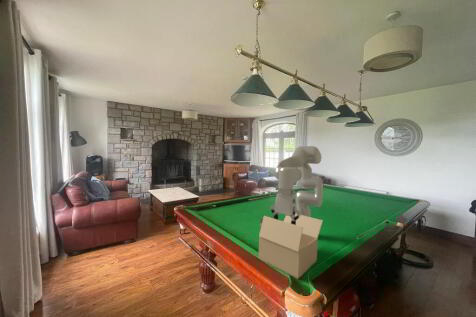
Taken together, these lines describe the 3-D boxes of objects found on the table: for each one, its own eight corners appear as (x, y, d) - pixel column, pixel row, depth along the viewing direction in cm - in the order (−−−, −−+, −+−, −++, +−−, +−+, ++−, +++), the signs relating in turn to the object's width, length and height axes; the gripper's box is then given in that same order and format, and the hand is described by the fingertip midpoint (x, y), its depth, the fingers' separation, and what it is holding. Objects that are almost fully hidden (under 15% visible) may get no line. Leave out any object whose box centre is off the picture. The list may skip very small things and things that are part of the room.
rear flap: (281, 226, 112) (281, 226, 112) (317, 238, 97) (317, 238, 97) (287, 211, 117) (287, 212, 117) (322, 220, 102) (322, 220, 102)
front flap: (264, 215, 99) (263, 215, 98) (303, 227, 84) (302, 227, 83) (259, 236, 96) (259, 236, 95) (298, 251, 81) (298, 251, 81)
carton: (280, 246, 112) (281, 226, 112) (316, 260, 97) (317, 238, 97) (258, 259, 96) (259, 236, 96) (297, 279, 81) (299, 252, 81)
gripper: (305, 193, 89) (303, 228, 89) (274, 188, 101) (273, 219, 101) (298, 195, 84) (296, 232, 84) (267, 190, 96) (265, 222, 96)
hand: (284, 225), depth 93 cm, fingers open, 9 cm apart
